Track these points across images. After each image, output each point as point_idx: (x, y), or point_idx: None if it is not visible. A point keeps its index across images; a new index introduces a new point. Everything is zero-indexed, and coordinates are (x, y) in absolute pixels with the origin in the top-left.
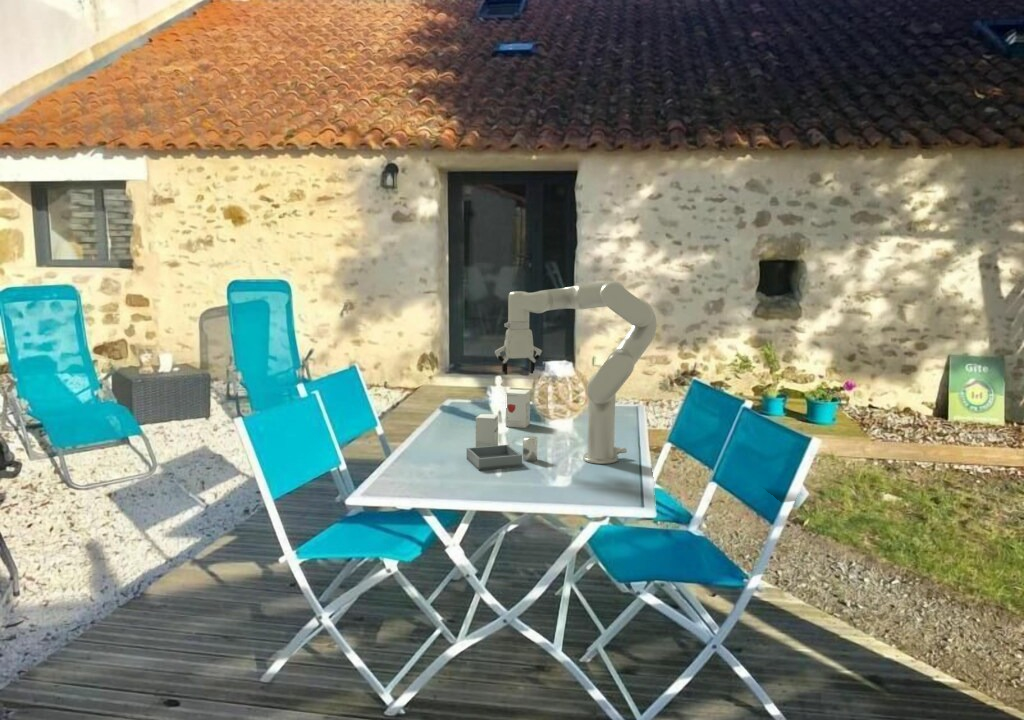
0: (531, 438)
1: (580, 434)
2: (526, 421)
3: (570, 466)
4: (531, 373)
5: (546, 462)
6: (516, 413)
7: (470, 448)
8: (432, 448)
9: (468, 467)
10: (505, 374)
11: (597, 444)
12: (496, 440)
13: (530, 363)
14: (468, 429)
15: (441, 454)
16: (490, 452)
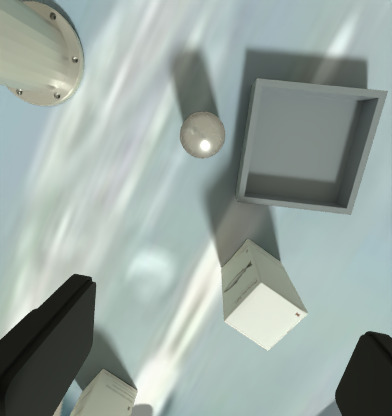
0: (201, 128)
1: (10, 280)
2: (93, 384)
3: (138, 30)
4: (91, 283)
5: (178, 94)
6: (107, 409)
7: (343, 208)
8: (356, 314)
9: None
10: (380, 334)
11: (24, 4)
12: (234, 264)
13: (18, 412)
14: (215, 403)
15: (365, 264)
16: (283, 197)
